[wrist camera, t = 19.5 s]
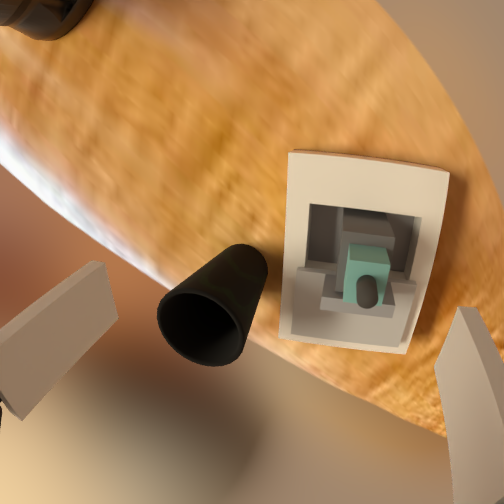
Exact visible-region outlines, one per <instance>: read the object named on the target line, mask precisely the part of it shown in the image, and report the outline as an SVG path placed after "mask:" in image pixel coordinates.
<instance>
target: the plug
mask: <svg viewBox="0 0 504 504" xmlns="http://www.w3.org/2000/svg"><path fill="white" fill-rule="evenodd" d="M394 243H395V235H394V233H393V230H392V228H391V225H390V223H389V221H388V218H387V216H386V214H385V212H379V211H372V210H364V209H355V208H347V207H343V217H342V226H341V235H340V244H339V252H338V262H337V273H336V284H335V291H339V292H343V302H348V303H356V304H358V305H359V306H360V307H361V308H364V309H370V308H372V307H374V306H382V302H383V297H384V293H385V289H386V284H387V280H388V275H389V270H390V264H391V259H392V254H393V249H394Z"/></svg>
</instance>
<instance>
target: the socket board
mask: <svg viewBox="0 0 504 504" xmlns="http://www.w3.org/2000/svg"><path fill="white" fill-rule="evenodd" d="M449 176H450V173H449V172H447V171H445V170H443V169H441V168H439V167H435V166H430V165H424V164H418V163H412V162H405V161H399V160H392V159H385V158H378V157H370V156H361V155H353V154H343V153H334V152H323V151H311V150H297V149H294V150H292V151H290V152H288V179H287V203H286V224H285V243H284V261H283V278H282V293H281V308H280V322H279V336H278V338H281V339H287V340H293V341H299V342H306V343H313V344H320V345H327V346H334V347H342V348H350V349H359V350H367V351H377V352H386V353H397V354H406V351H407V349H408V346H409V343H410V340H411V337H412V335H413V332H414V329H415V326H416V323H417V319H418V316H419V313H420V310H421V307H422V303H423V300H424V296H425V293H426V289H427V286H428V282H429V278H430V274H431V271H432V267H433V262H434V258H435V254H436V250H437V245H438V240H439V236H440V231H441V226H442V220H443V215H444V209H445V203H446V197H447V190H448V183H449ZM343 207H347V208H355V209H364V210H372V211H379V212H385V214H386V216H387V218H388V221H389V223H390V225H391V228H392V230H393V233H394V235H395V243H394V249H393V254H392V259H391V264H390V270H389V275H388V278H394V279H402V280H410V281H416V284H417V287H416V291H415V295H414V299H413V302H412V306H411V309H410V312H409V316H408V319H407V322H406V326H405V329H404V332H403V335H402V338H401V341H400V344H399V347H387V346H378V345H369V344H360V343H351V342H343V341H336V340H328V339H321V338H314V337H307V336H300V335H294V334H291V327H292V316H293V306H294V295H295V283H296V271H297V268H298V267H306V268H314V269H322V270H330V271H337V262H338V252H339V244H340V235H341V226H342V217H343Z"/></svg>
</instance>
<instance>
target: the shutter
mask: <svg viewBox="0 0 504 504" xmlns="http://www.w3.org/2000/svg"><path fill="white" fill-rule="evenodd" d="M336 273H337V271H330V270H322V269H314V268H306V267H298V268H297V271H296V283H295V295H294V306H293V316H292V327H291V334H294V335H300V336H307V337H314V338H321V339H328V340H336V341H343V342H351V343H360V344H369V345H378V346H387V347H399V344H400V341H401V338H402V335H403V332H404V329H405V326H406V322H407V319H408V316H409V312H410V309H411V306H412V302H413V299H414V295H415V291H416V287H417V284H416V281H410V280H402V279H394V278H388V280H387V284H386V289H385V293H384V297H383V302H382V306H374V307H372V308H370V309H364V308H361V307H360V306H359V305H358V304H356V303H348V302H343V292H339V291H335V284H336Z"/></svg>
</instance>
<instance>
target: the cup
mask: <svg viewBox="0 0 504 504" xmlns="http://www.w3.org/2000/svg"><path fill="white" fill-rule="evenodd" d="M267 274H268V267H267V263H266V261H265V259H264V257H263V256H262V254H261V253H260V252H259V251H258V250H256V249H255V248H253V247H251V246H249V245H244V244H236V245H232V246H230V247H228V248H227V249H225V250H224V251H223V252H221V253H220V254H219V255H217V256H216V257H215V258H213V259H212V260H211V261H209V262H208V263H207V264H205V265H204V266H203V267H201V268H200V269H199V270H197V271H196V272H195V273H193V274H192V275H191V276H189V277H188V278H187V279H186V280H184V281H183V282H182V283H180V284H179V285H178V286H176V287H175V288H174V289H172V290H171V291H170V292H169V293H167V294H166V295H165V296H164V298H162V300H161V301H160V303H159V306H158V308H157V320H158V325H159V328H160V330H161V332H162V335H163V336H164V338H165V339H166V341H167V342H168V344H169V345H170V346H171V347H172V348H173V349H174V350H175V351H176V352H177V353H179V354H180V355H181V356H183V357H184V358H186V359H188V360H190V361H192V362H195V363H197V364H200V365H205V366H213V367H215V366H224V365H227V364H230V363H232V362H233V361H235V360H236V359H237V358H238V357H239V356H240V354H241V353H242V351H243V348H244V345H245V342H246V339H247V336H248V333H249V330H250V327H251V324H252V321H253V318H254V315H255V312H256V308H257V305H258V302H259V299H260V296H261V293H262V290H263V287H264V284H265V280H266V277H267Z"/></svg>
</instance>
